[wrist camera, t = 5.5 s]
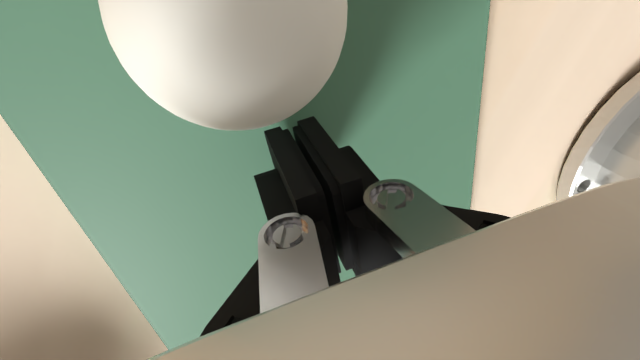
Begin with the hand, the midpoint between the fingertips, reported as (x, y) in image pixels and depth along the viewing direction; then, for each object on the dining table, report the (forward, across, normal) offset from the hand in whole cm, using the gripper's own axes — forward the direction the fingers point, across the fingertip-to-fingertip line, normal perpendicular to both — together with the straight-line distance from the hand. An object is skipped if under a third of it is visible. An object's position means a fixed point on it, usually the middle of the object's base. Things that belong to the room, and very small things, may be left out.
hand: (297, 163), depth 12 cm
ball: (-2, +1, -5) cm, 5 cm away
